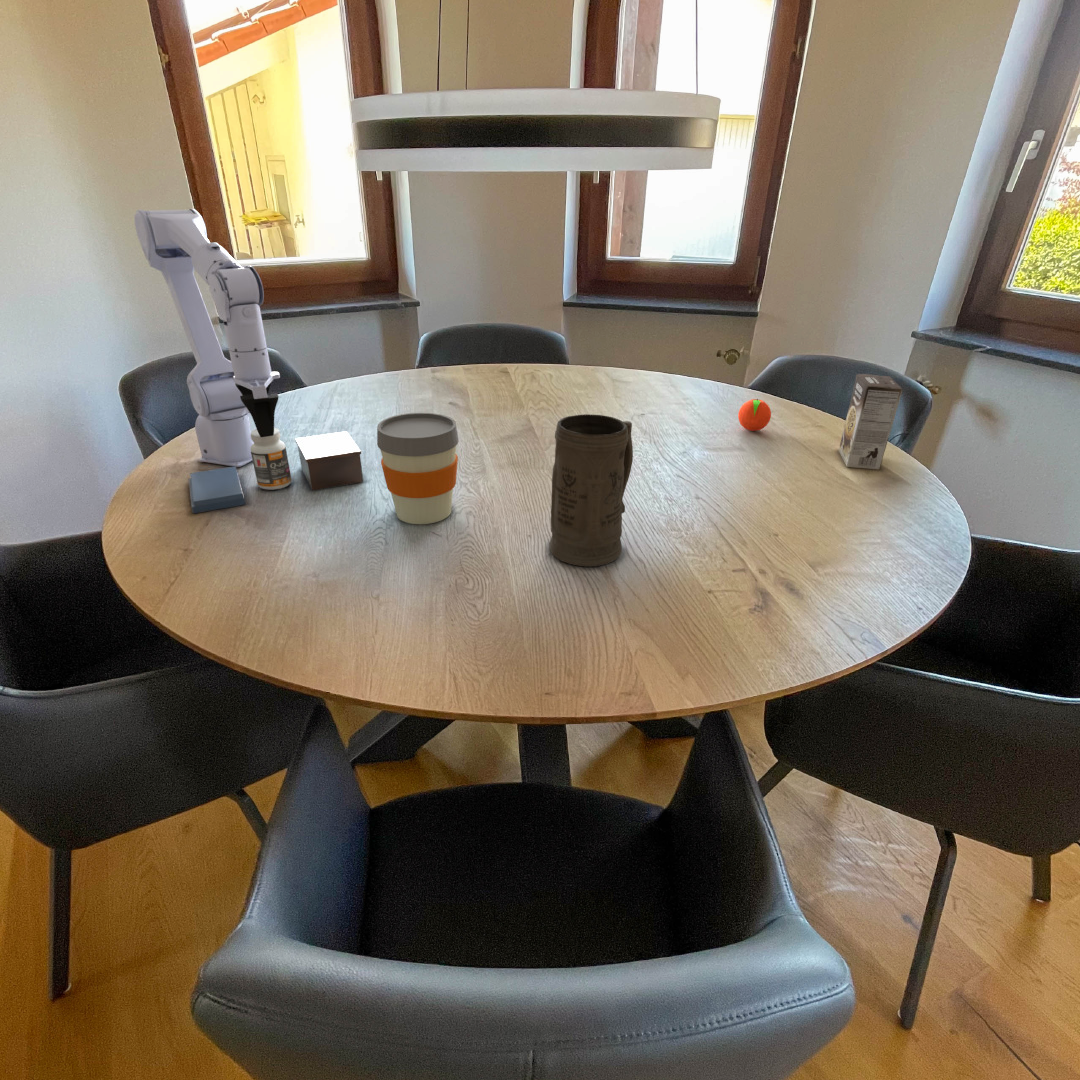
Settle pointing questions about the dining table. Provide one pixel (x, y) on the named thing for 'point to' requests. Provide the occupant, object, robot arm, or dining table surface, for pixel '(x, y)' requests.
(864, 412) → the coffee box
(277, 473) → the pill bottle
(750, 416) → the clementine
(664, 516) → the dining table surface
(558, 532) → the beer stein
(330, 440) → the walnut box
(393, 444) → the reusable coffee cup
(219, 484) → the blue flat block
